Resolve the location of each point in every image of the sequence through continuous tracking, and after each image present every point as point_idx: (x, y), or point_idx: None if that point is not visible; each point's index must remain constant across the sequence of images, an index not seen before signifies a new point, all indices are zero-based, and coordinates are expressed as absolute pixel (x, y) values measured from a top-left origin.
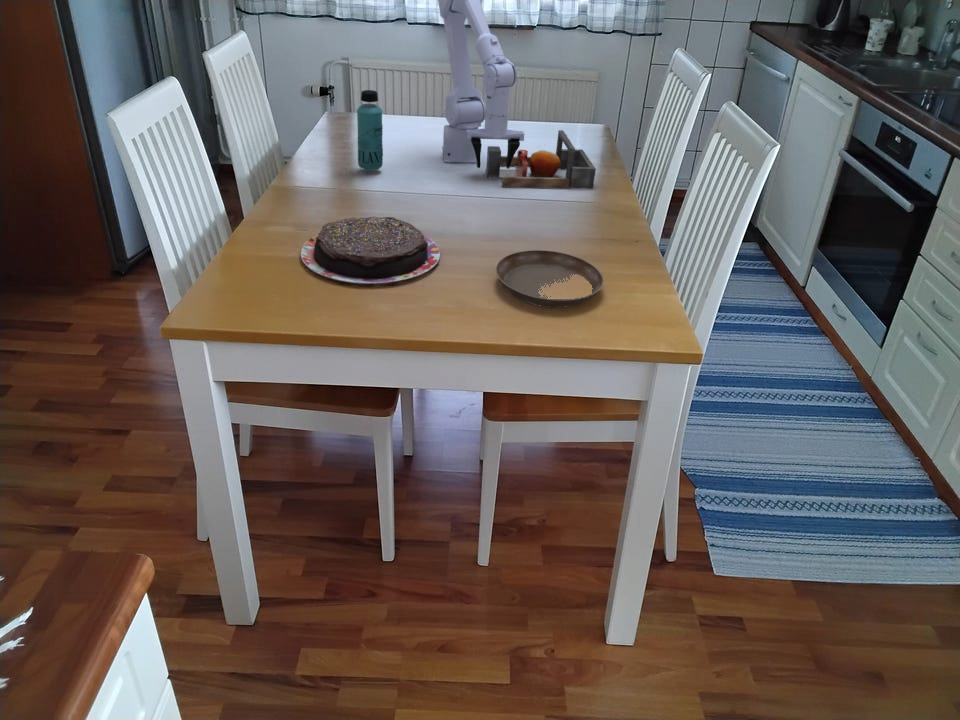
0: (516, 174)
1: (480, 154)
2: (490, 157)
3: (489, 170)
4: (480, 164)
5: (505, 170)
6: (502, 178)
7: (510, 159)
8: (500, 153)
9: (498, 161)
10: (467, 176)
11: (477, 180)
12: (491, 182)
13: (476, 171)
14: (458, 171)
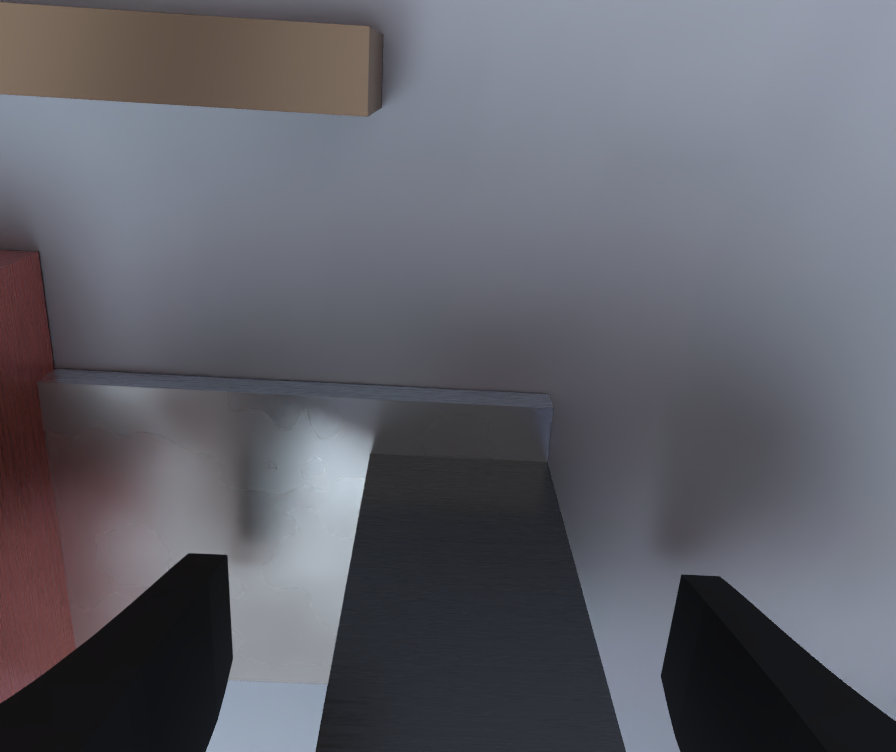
0: (96, 511)
1: (816, 729)
2: (568, 662)
3: (537, 502)
4: (706, 600)
5: (248, 651)
6: (371, 104)
7: (117, 643)
8: (333, 732)
9: (384, 599)
10: (817, 500)
11: (721, 350)
12: (524, 266)
13: (637, 666)
14: (875, 663)
